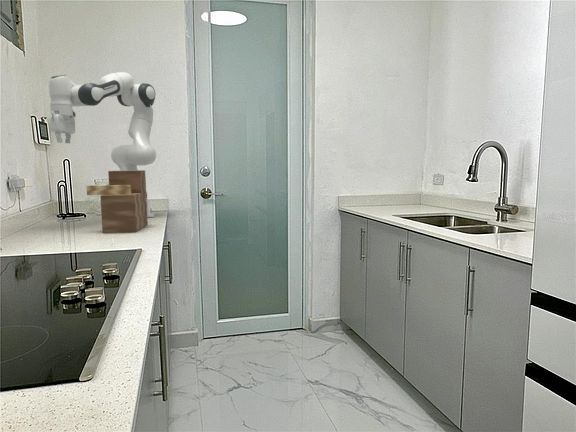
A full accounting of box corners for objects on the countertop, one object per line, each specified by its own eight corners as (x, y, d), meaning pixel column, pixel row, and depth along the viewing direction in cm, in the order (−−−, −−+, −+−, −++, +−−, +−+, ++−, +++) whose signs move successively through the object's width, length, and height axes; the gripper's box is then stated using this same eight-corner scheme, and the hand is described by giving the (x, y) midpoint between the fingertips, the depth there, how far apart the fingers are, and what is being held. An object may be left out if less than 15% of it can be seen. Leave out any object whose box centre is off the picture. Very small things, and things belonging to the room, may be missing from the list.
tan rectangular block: (86, 195, 204) (86, 185, 204) (89, 194, 207) (88, 185, 207) (129, 194, 205) (129, 185, 205) (131, 194, 208) (130, 184, 208)
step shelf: (117, 225, 225) (114, 170, 222) (147, 225, 226) (145, 170, 223) (102, 233, 202) (99, 171, 199) (136, 232, 203) (133, 171, 200)
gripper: (59, 109, 204) (62, 142, 206) (77, 114, 224) (79, 143, 226) (44, 109, 204) (46, 142, 205) (63, 114, 224) (65, 143, 225)
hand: (63, 143), depth 216 cm, fingers open, 8 cm apart
